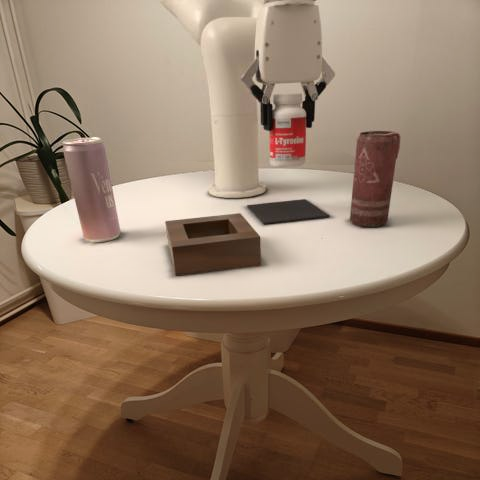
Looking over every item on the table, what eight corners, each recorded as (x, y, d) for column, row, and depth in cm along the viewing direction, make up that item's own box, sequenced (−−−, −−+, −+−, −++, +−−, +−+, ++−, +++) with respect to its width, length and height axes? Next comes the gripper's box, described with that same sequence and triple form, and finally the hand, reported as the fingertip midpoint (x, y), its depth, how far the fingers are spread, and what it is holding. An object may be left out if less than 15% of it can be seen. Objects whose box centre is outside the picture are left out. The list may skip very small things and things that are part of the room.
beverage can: (105, 229, 74) (86, 136, 66) (128, 234, 71) (111, 138, 63) (76, 239, 70) (52, 141, 62) (99, 245, 66) (77, 143, 59)
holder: (168, 246, 65) (165, 221, 63) (241, 237, 67) (240, 212, 65) (175, 276, 55) (171, 246, 53) (261, 264, 57) (260, 236, 55)
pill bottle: (271, 168, 71) (270, 94, 66) (268, 164, 77) (266, 95, 71) (308, 166, 71) (309, 92, 66) (302, 161, 77) (303, 93, 71)
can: (390, 228, 68) (404, 134, 61) (349, 227, 69) (358, 135, 62) (387, 217, 73) (399, 129, 66) (349, 216, 74) (357, 130, 67)
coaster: (247, 207, 82) (247, 205, 82) (305, 201, 85) (305, 199, 84) (263, 224, 72) (263, 222, 72) (329, 217, 74) (329, 215, 74)
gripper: (333, -1, 67) (326, 123, 76) (227, 1, 64) (232, 130, 73) (354, -10, 61) (344, 127, 70) (237, -8, 58) (242, 134, 67)
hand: (287, 127), depth 71 cm, fingers closed on pill bottle, 6 cm apart
